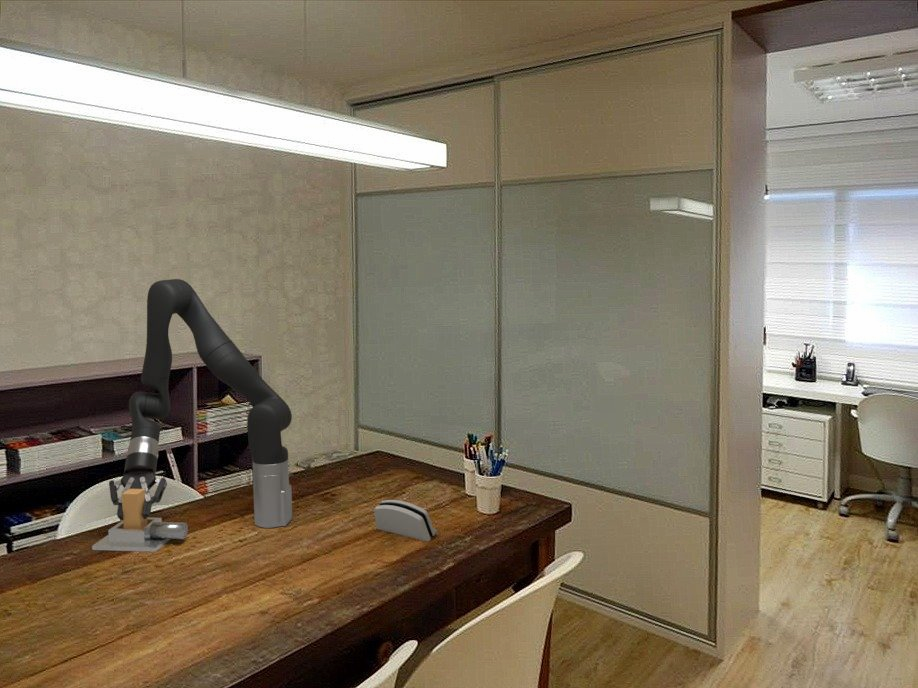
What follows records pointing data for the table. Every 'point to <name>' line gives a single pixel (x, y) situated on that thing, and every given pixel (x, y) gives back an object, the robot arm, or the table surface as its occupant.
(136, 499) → the upright wooden block
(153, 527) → the bracket head
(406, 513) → the grey rounded block
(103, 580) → the table surface
